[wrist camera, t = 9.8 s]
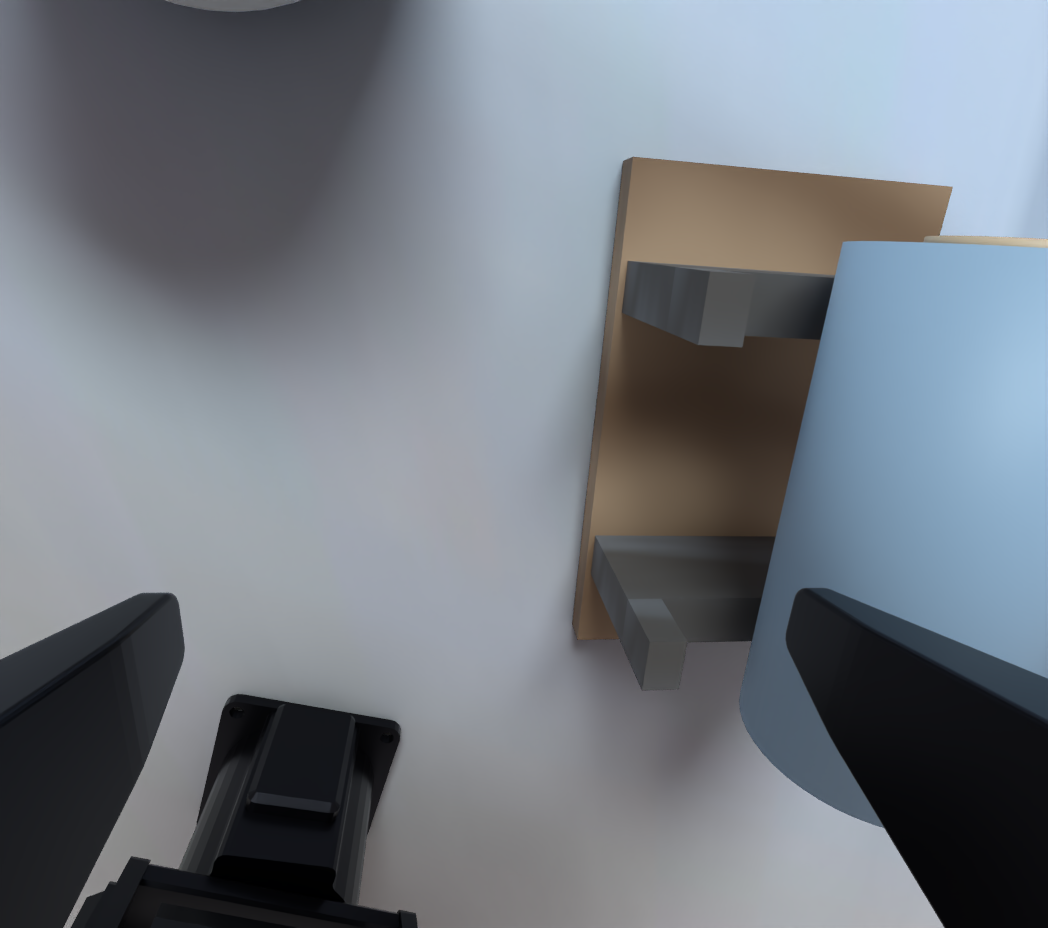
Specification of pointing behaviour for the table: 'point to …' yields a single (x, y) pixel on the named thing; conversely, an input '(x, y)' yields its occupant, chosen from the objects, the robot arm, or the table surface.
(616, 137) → the table surface
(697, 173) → the holder
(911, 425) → the roll
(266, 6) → the teacup
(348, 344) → the table surface
